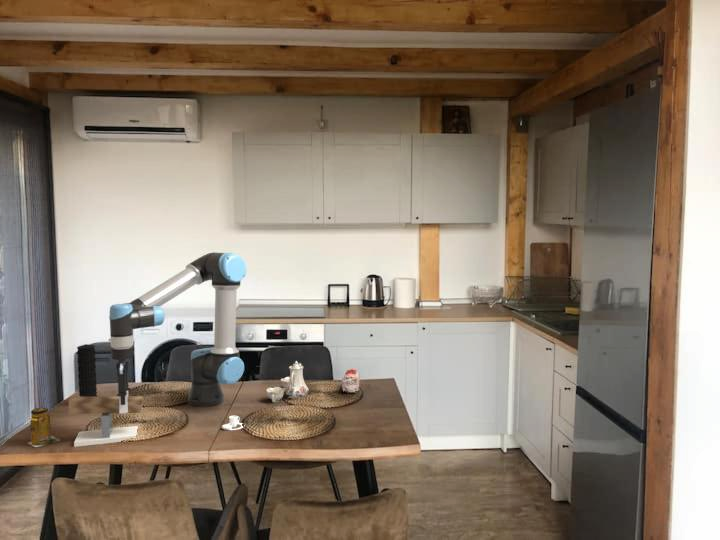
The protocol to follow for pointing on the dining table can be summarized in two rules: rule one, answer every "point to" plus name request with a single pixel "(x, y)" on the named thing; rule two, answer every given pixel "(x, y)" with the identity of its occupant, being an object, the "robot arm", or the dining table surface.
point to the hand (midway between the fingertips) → (124, 410)
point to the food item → (351, 381)
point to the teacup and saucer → (232, 423)
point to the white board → (96, 438)
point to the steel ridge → (106, 424)
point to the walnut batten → (103, 404)
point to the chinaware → (290, 385)
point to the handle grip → (87, 370)
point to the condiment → (40, 428)
